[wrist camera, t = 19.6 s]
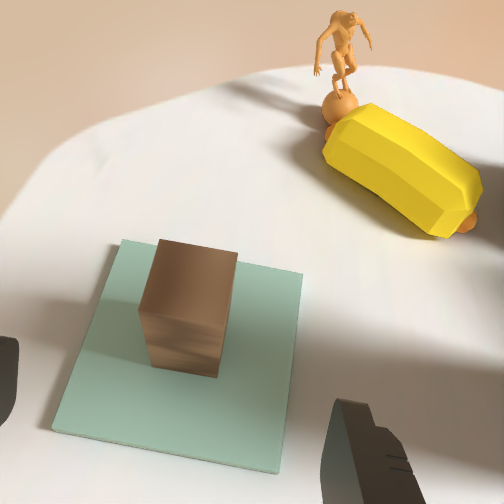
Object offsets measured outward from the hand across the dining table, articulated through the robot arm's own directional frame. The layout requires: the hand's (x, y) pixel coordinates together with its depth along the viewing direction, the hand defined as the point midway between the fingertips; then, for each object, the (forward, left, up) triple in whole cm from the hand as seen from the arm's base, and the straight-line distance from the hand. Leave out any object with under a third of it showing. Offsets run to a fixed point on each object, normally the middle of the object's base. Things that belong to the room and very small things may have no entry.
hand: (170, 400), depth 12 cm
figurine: (-7, -40, -25) cm, 48 cm away
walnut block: (+2, -10, -23) cm, 25 cm away
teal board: (+2, -10, -24) cm, 27 cm away
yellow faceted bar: (-14, -32, -25) cm, 43 cm away
